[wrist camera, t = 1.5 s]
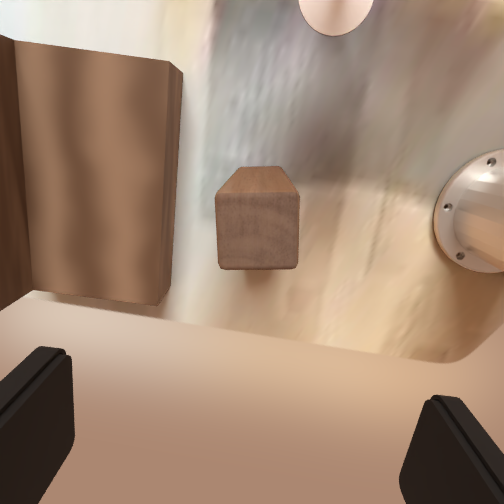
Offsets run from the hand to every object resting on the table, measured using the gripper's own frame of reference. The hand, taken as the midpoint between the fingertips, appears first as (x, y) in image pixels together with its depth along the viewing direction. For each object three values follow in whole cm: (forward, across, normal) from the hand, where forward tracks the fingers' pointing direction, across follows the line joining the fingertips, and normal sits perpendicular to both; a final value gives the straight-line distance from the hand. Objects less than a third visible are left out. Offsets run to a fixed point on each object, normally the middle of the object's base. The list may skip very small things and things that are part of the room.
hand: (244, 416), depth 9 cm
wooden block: (+29, 0, 0) cm, 29 cm away
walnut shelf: (+29, +16, -1) cm, 33 cm away
